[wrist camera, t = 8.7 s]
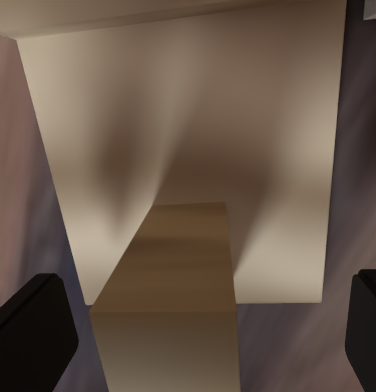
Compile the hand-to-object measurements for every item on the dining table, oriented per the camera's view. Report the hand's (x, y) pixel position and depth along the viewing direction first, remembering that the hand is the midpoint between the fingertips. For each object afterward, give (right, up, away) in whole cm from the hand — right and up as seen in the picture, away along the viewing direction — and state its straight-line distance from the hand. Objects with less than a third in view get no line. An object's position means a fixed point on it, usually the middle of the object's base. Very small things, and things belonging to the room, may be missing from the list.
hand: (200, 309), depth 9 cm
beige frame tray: (-1, +10, +1) cm, 10 cm away
